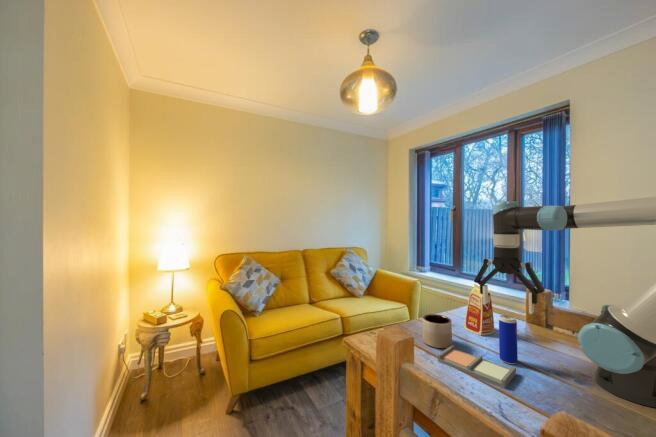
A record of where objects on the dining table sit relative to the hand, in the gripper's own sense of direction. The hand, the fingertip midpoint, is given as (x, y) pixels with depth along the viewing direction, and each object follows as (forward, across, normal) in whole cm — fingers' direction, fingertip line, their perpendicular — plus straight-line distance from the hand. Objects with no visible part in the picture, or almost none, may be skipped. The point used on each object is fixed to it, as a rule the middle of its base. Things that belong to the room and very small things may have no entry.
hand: (507, 308), depth 92 cm
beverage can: (+18, 0, 0) cm, 18 cm away
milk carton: (+18, +16, -20) cm, 31 cm away
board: (+18, +6, +12) cm, 23 cm away
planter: (+18, +23, +5) cm, 30 cm away
